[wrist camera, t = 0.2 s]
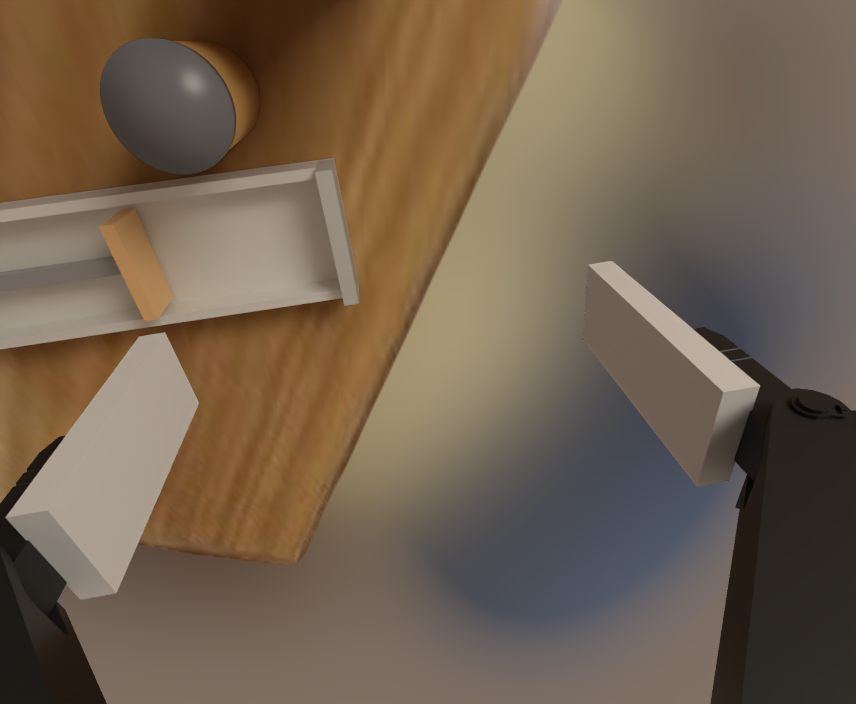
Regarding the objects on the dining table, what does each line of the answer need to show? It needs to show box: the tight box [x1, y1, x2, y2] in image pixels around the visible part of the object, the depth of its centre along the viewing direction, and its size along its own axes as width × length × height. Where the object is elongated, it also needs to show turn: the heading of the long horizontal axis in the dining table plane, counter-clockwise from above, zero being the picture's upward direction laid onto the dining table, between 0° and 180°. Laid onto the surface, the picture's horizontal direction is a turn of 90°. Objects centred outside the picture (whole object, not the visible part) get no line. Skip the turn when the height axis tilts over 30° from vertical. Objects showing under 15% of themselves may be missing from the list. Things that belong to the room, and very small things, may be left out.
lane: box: [0, 158, 359, 349], centre depth 37 cm, size 11×40×6 cm, turn 96°
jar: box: [100, 38, 260, 175], centre depth 30 cm, size 7×7×10 cm
